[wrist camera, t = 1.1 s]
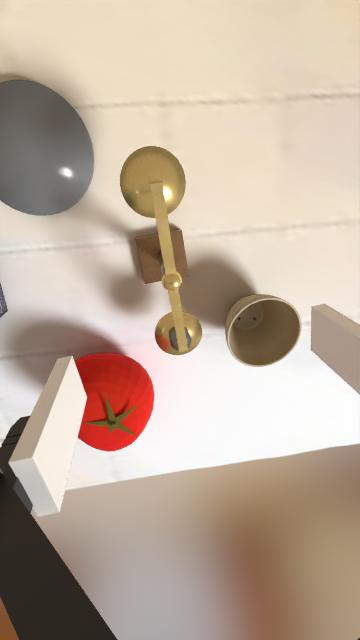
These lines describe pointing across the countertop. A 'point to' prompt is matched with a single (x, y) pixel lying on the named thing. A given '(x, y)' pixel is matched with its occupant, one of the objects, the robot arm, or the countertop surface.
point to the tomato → (114, 400)
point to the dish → (41, 150)
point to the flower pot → (262, 329)
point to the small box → (2, 303)
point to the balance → (161, 239)
